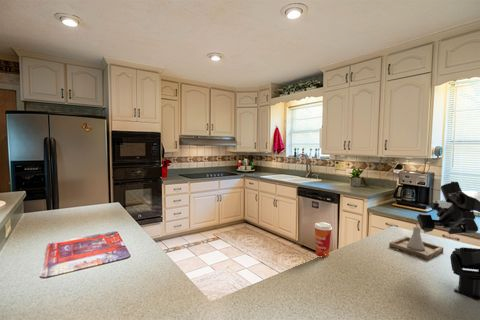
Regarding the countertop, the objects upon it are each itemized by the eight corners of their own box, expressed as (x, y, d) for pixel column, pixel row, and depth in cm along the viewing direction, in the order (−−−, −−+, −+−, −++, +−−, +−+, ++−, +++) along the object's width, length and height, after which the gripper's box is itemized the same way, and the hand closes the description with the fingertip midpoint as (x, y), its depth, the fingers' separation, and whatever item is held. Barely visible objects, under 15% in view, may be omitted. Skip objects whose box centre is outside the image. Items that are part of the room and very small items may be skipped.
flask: (423, 252, 112) (424, 231, 111) (404, 247, 117) (405, 227, 116) (426, 248, 116) (428, 227, 116) (408, 243, 122) (409, 223, 121)
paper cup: (309, 252, 113) (310, 223, 112) (322, 249, 116) (323, 220, 115) (322, 260, 106) (323, 228, 105) (335, 256, 109) (336, 225, 108)
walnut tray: (427, 260, 106) (427, 255, 106) (389, 246, 120) (389, 242, 119) (443, 252, 114) (443, 247, 114) (405, 240, 128) (405, 236, 128)
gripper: (474, 196, 94) (453, 216, 105) (420, 194, 97) (405, 213, 109) (490, 223, 87) (465, 241, 98) (430, 219, 90) (413, 237, 102)
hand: (436, 232), depth 102 cm, fingers open, 9 cm apart
